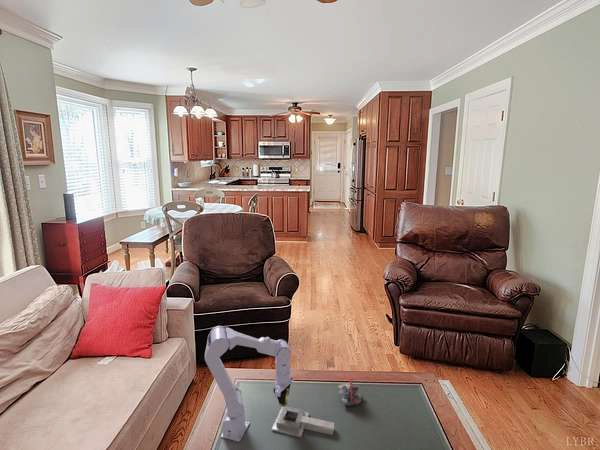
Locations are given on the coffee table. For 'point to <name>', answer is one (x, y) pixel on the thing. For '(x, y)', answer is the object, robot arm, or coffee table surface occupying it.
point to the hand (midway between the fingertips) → (283, 399)
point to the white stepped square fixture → (300, 423)
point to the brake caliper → (350, 394)
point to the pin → (286, 398)
